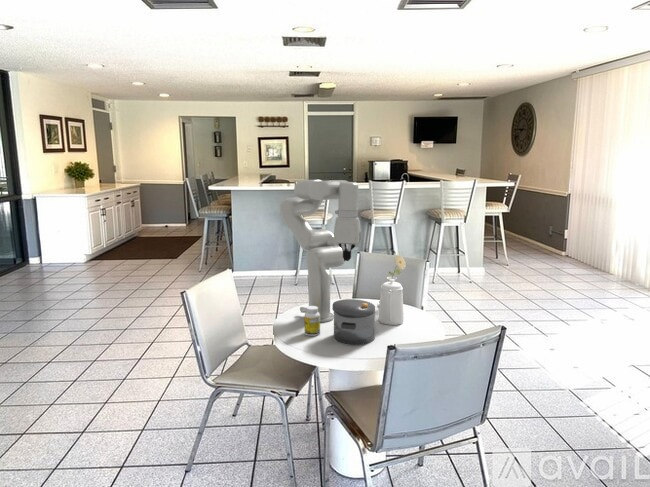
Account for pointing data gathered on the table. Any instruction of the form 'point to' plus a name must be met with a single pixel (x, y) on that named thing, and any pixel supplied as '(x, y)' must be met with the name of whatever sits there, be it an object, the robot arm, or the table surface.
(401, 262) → the flower in vase
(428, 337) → the table surface
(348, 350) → the table surface
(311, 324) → the pill bottle
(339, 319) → the cooker pot
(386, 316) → the coffeepot
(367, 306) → the cooker lid
